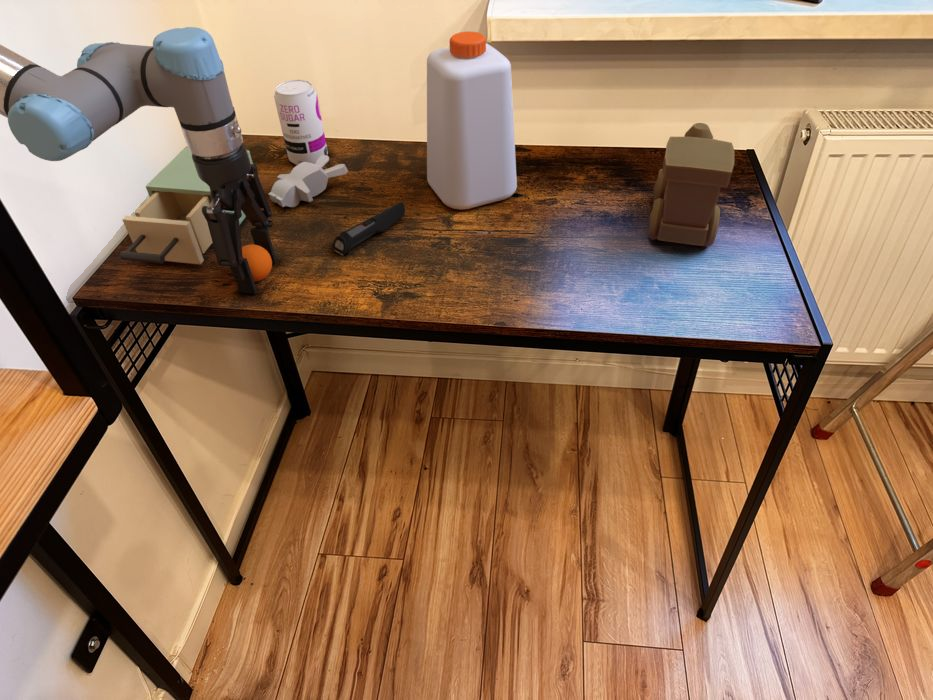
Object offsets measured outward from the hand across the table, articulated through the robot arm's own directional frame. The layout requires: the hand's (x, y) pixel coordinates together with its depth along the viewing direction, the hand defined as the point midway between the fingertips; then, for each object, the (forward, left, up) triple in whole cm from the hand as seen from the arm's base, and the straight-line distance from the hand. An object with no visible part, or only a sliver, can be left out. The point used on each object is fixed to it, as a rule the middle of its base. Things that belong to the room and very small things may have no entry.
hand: (258, 276), depth 111 cm
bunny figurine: (-1, +27, -1) cm, 27 cm away
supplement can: (-6, +40, -1) cm, 40 cm away
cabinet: (-16, +17, 0) cm, 24 cm away
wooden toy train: (+69, +26, -1) cm, 73 cm away
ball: (0, 0, +3) cm, 3 cm away
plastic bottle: (+30, +33, 0) cm, 44 cm away
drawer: (-16, +4, +1) cm, 17 cm away
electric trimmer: (+15, +15, -1) cm, 21 cm away
